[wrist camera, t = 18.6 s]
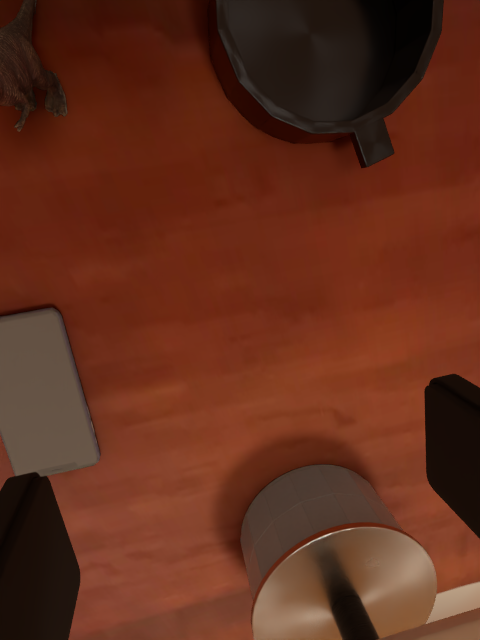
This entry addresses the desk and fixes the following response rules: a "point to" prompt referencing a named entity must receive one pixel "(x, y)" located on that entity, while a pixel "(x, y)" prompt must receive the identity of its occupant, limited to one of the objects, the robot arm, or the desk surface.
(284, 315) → the desk surface
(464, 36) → the desk surface
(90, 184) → the desk surface
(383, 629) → the lid
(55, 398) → the smartphone
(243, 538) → the pot
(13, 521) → the robot arm
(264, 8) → the pan
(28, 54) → the dinosaur model
